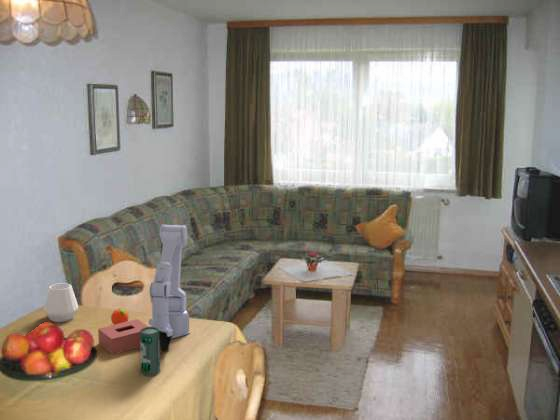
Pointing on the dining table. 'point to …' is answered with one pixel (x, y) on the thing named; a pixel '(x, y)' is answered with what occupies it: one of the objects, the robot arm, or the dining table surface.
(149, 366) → the can
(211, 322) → the dining table surface
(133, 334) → the coin box
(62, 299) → the white tapered hollow vessel
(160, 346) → the token
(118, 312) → the clementine
